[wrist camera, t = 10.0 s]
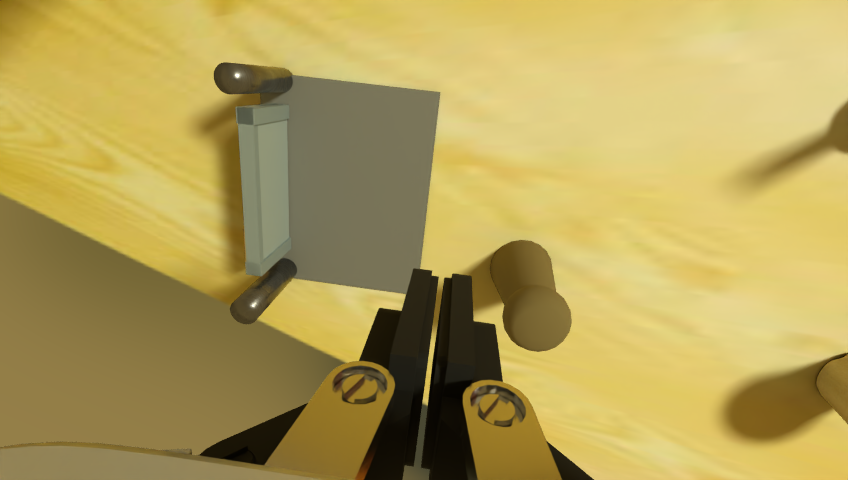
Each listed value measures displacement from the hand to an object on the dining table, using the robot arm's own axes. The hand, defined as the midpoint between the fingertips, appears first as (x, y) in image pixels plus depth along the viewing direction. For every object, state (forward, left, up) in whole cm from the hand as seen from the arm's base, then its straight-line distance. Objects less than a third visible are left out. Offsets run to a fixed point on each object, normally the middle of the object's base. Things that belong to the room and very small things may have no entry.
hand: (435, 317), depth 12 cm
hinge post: (-5, -16, -27) cm, 32 cm away
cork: (+10, +8, -27) cm, 30 cm away
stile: (+12, -17, -27) cm, 34 cm away
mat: (+4, -10, -27) cm, 29 cm away
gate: (+4, -16, -27) cm, 31 cm away
